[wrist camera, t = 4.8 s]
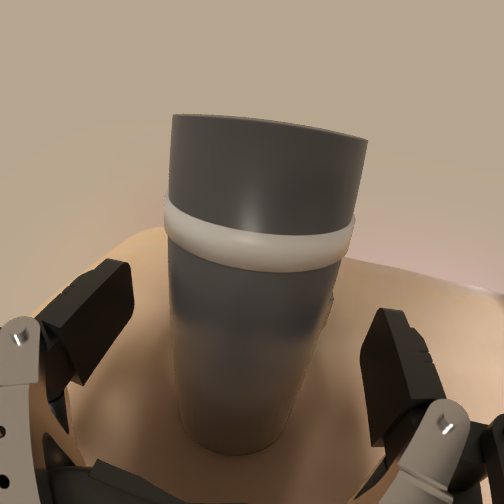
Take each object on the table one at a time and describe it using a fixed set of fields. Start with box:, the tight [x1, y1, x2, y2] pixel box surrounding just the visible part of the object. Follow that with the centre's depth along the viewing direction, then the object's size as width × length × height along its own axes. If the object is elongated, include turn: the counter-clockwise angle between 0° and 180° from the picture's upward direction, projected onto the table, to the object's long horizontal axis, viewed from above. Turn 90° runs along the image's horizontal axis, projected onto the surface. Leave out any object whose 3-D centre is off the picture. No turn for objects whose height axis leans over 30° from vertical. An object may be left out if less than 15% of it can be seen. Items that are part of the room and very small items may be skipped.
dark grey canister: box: [164, 114, 368, 455], centre depth 10 cm, size 5×5×12 cm
